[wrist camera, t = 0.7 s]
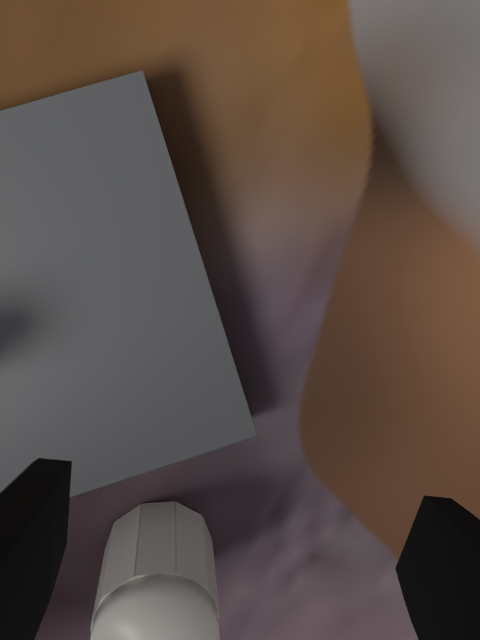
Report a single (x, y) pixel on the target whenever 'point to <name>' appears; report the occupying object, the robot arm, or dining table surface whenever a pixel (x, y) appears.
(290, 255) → the dining table surface
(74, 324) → the post board
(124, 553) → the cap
